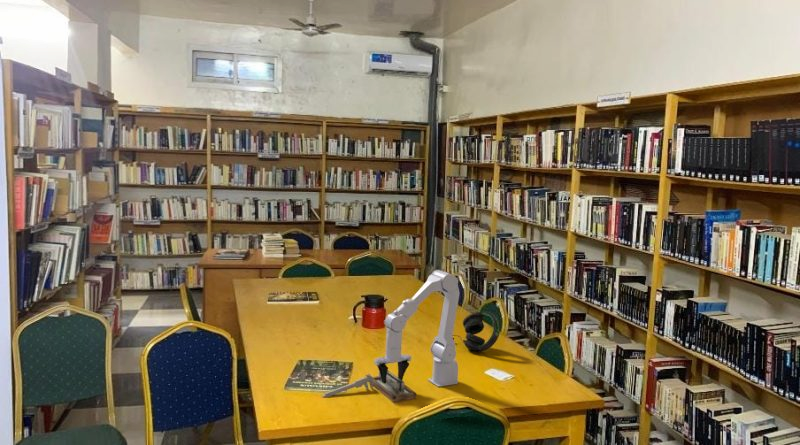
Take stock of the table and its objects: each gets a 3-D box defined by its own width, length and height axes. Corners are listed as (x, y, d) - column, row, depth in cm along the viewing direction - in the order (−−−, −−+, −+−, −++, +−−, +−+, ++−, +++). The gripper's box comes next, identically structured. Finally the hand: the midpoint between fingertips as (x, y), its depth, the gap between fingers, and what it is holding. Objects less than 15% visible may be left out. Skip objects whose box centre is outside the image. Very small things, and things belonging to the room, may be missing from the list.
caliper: (371, 388, 226) (372, 372, 225) (372, 389, 225) (373, 373, 224) (321, 397, 215) (321, 380, 215) (322, 398, 214) (323, 381, 214)
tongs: (386, 379, 232) (386, 367, 231) (404, 392, 219) (404, 380, 219) (378, 380, 230) (379, 369, 230) (395, 394, 217) (396, 382, 217)
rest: (390, 379, 235) (390, 374, 235) (415, 398, 217) (416, 393, 217) (368, 382, 231) (369, 377, 231) (393, 402, 213) (393, 396, 213)
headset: (457, 362, 286) (505, 347, 267) (437, 353, 278) (485, 337, 260) (457, 327, 296) (503, 310, 277) (438, 318, 288) (484, 300, 270)
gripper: (405, 341, 229) (404, 375, 231) (371, 344, 223) (369, 380, 224) (414, 346, 223) (412, 381, 225) (379, 350, 216) (378, 386, 218)
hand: (392, 381), depth 224 cm, fingers open, 6 cm apart
